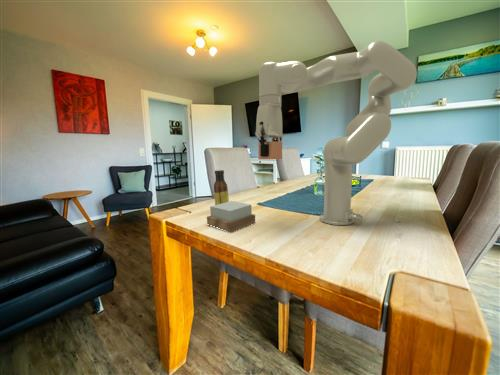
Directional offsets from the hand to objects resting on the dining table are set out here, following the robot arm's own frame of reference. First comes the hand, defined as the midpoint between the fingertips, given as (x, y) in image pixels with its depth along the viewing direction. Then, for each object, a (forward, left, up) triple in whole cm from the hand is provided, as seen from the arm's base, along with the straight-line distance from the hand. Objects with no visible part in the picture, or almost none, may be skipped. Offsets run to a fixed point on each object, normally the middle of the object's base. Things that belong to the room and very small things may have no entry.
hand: (270, 155), depth 77 cm
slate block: (+13, +8, -22) cm, 27 cm away
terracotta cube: (0, 0, -1) cm, 1 cm away
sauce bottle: (+27, 0, -26) cm, 37 cm away
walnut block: (+13, +8, -26) cm, 30 cm away
